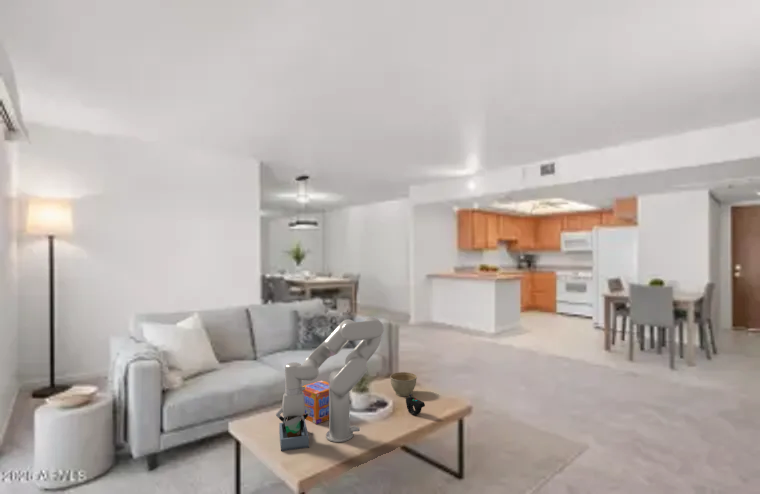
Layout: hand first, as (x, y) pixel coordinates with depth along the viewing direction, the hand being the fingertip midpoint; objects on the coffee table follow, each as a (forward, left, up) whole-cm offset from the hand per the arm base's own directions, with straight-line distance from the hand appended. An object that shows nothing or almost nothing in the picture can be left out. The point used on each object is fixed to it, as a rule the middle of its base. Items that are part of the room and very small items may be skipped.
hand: (293, 429), depth 191 cm
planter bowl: (-68, -44, -5) cm, 81 cm away
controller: (-64, -12, -5) cm, 65 cm away
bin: (0, 0, -5) cm, 5 cm away
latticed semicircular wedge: (-2, 0, -4) cm, 4 cm away
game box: (-15, -25, -5) cm, 30 cm away
